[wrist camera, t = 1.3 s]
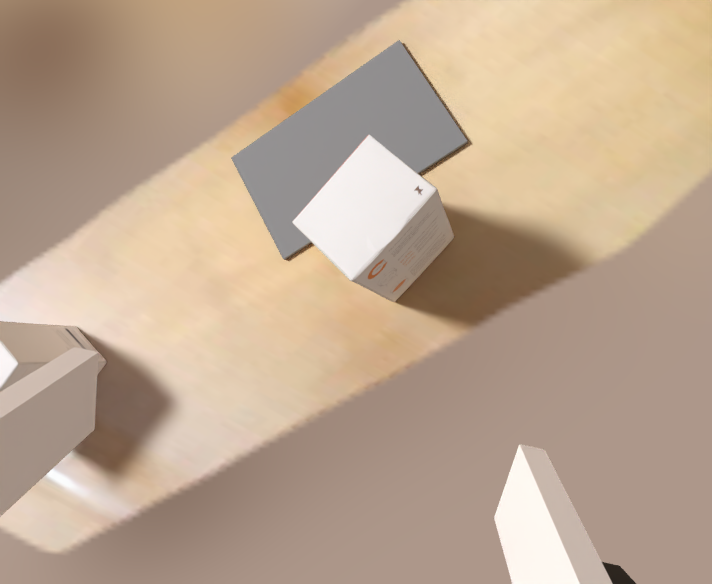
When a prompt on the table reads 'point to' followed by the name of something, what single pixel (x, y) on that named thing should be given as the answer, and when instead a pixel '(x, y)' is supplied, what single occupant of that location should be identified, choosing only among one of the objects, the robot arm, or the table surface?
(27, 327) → the skincare box
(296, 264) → the table surface
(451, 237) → the small box
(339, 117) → the mat
